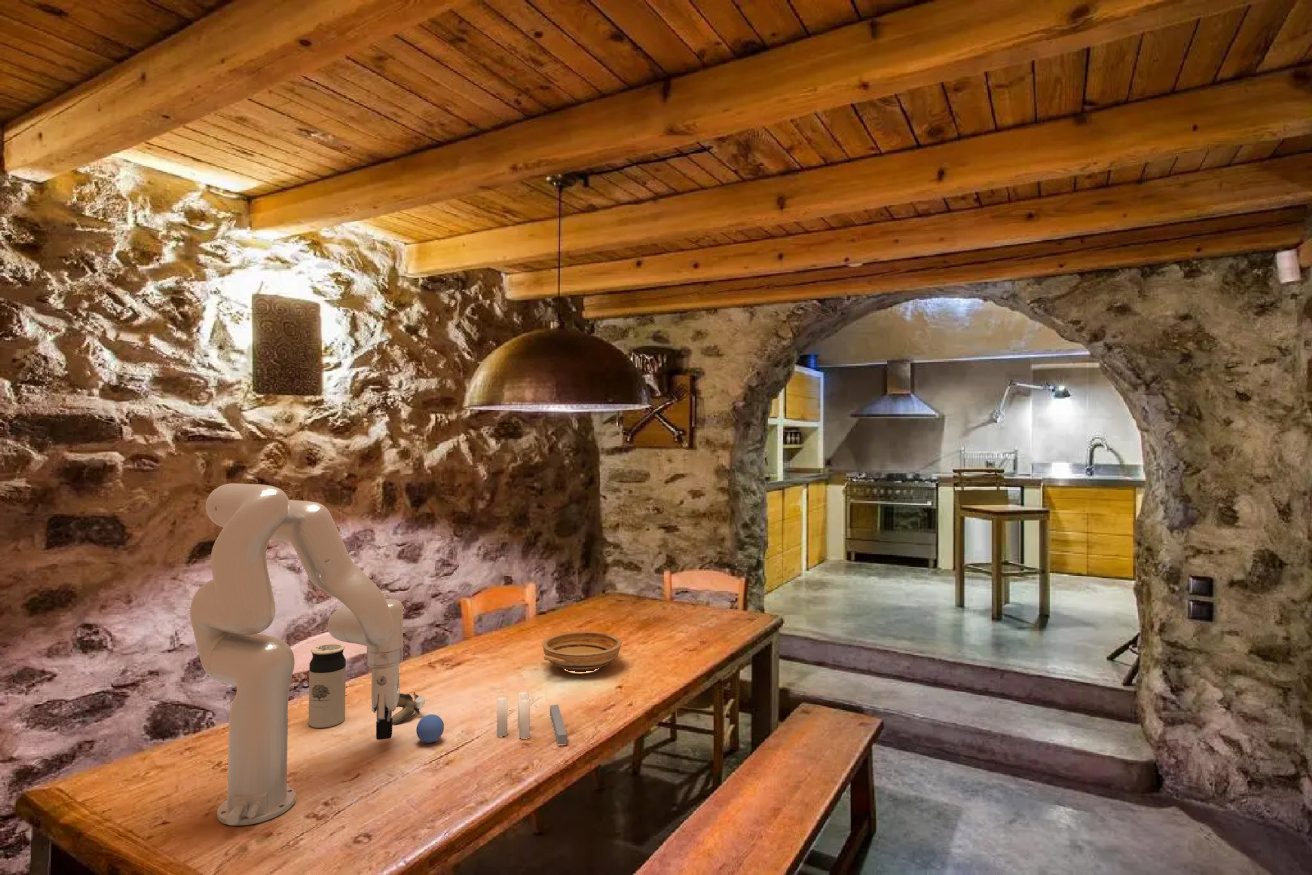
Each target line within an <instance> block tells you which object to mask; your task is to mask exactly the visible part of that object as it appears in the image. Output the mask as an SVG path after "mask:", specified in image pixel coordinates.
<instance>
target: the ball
mask: <svg viewBox="0 0 1312 875" xmlns="http://www.w3.org/2000/svg"><path fill="white" fill-rule="evenodd" d="M444 730H445V723H444V720H443V718H441V717H440V716H438V715H437V714H427V715H425V716H423V717H421V719H420V720H419V721H418V722H417V725H416V730H415V732H416V736H417V738H418V739H419V740H420V741H421V742H422V743H426V744H432V743H435V742H436V741H438V740H439V739H440V738H442V735H443V734H444Z"/></svg>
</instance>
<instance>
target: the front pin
mask: <svg viewBox="0 0 1312 875" xmlns="http://www.w3.org/2000/svg"><path fill="white" fill-rule="evenodd" d="M508 700H509V697H508V696H500V697H497V699H496V705H497V706H496V737H497V736H505V737H507V736H508V719H509V718H508V716H509V715H508V710H509V709H508V708H509V707H508V706H509V705H508V704H509V703H508V702H509V701H508ZM506 735H507V736H506Z"/></svg>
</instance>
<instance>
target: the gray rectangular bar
mask: <svg viewBox="0 0 1312 875" xmlns="http://www.w3.org/2000/svg"><path fill="white" fill-rule="evenodd" d="M560 710H561V709H560V707H559V704H551V705H549V716H551V718H550V721H551V720H552V722H551V724H552V723H553V726H552V728H553V727H554V729H553V732H554V731H555V733H554V737H555V736H556V737H555V741H556V740H557V741H556V744H567V743H568V734H567V733H568V732H567V731H566V726H565V723H564V721H563V720H564V719H563V717H562V713H561V711H560Z"/></svg>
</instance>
